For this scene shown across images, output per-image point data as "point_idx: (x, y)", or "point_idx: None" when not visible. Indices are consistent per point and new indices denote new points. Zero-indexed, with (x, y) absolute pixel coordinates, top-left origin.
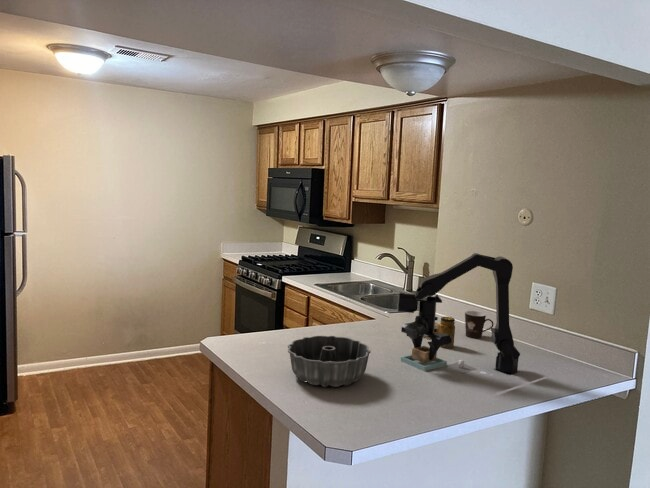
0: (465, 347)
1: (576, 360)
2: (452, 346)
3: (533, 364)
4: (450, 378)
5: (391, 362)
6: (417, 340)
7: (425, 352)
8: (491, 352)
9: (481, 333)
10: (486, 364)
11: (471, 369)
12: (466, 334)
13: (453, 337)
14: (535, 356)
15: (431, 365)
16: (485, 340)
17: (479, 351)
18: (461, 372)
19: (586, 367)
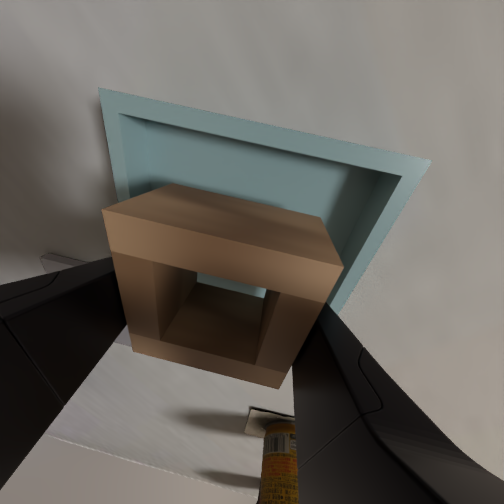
0: (248, 444)
1: (81, 445)
2: (264, 440)
3: (83, 415)
4: (10, 159)
5: (498, 83)
6: (335, 446)
7: (127, 244)
8: (184, 437)
9: (257, 501)
10: (120, 378)
11: None
12: None
13: (260, 490)
14: (122, 442)
15: (117, 187)
16: (244, 476)
17: (205, 435)
18: (50, 262)
19: (47, 430)
